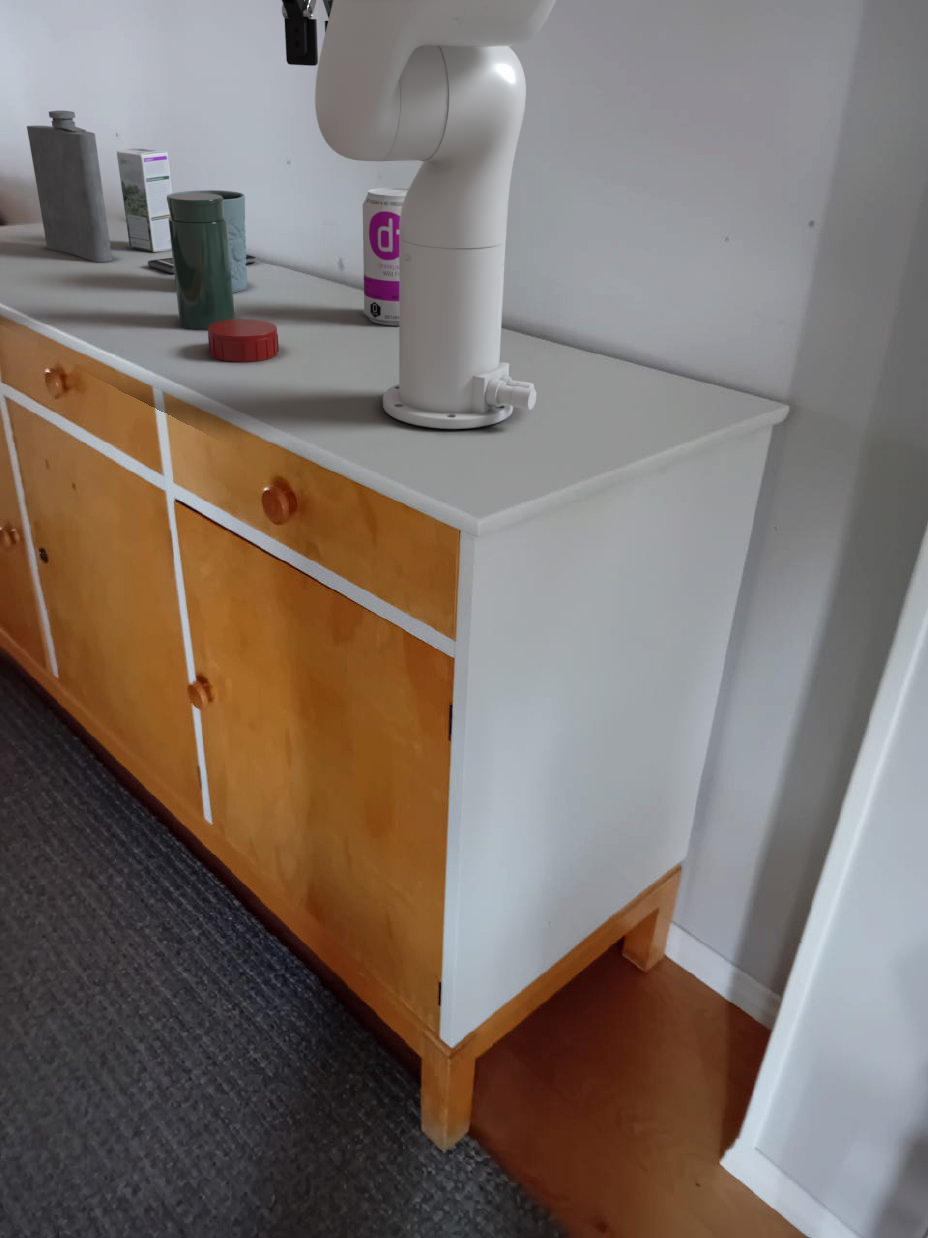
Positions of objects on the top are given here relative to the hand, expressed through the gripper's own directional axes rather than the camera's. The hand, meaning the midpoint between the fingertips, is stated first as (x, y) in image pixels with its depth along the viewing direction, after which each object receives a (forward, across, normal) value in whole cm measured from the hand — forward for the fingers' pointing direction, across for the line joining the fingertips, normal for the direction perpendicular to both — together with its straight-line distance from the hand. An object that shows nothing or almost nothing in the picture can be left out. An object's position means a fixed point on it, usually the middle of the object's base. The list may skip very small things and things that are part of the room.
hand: (322, 64), depth 104 cm
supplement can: (+28, -12, +4) cm, 31 cm away
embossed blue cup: (+28, -18, -25) cm, 42 cm away
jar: (+28, 0, -16) cm, 33 cm away
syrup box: (+28, -39, -48) cm, 68 cm away
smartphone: (+28, -30, -34) cm, 54 cm away
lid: (+26, +10, -6) cm, 29 cm away
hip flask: (+28, -30, -55) cm, 69 cm away
